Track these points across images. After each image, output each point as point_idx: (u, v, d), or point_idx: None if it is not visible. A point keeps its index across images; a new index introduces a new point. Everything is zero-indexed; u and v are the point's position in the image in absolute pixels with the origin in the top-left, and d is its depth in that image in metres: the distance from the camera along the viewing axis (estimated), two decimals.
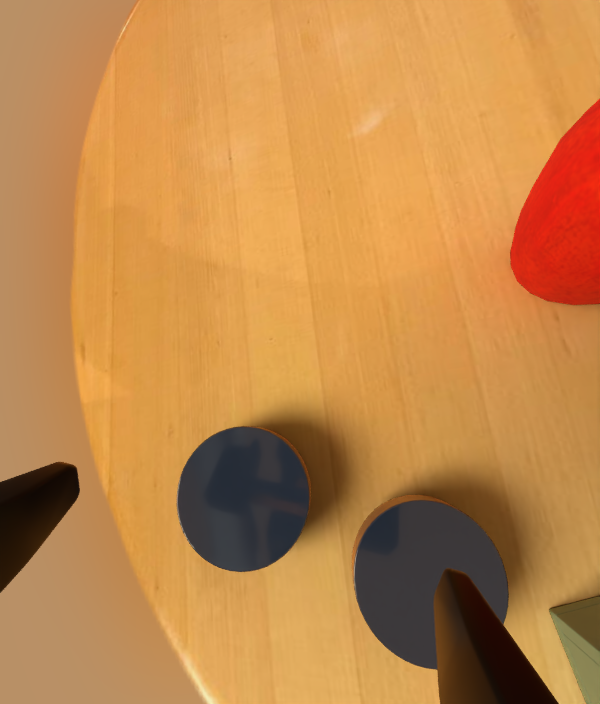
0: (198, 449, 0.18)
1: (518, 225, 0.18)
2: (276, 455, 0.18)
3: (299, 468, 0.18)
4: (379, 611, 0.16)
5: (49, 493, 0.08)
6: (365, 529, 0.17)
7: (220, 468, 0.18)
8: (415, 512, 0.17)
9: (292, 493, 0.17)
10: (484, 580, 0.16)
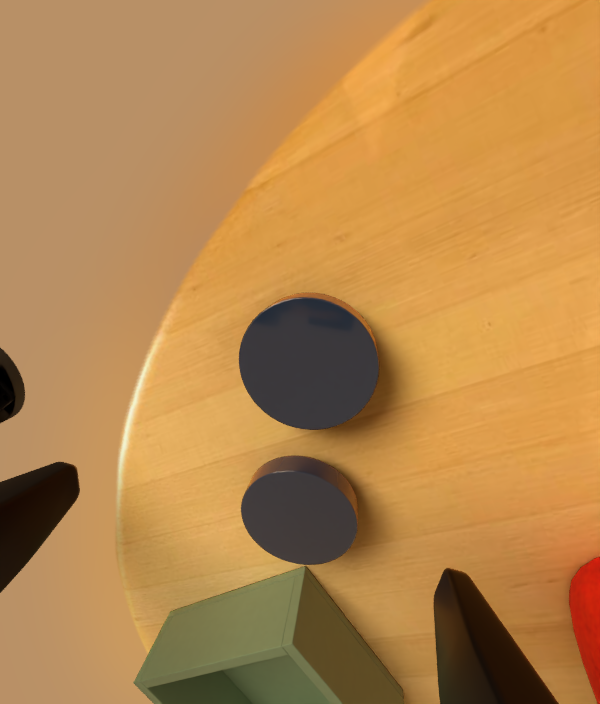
0: (336, 307, 0.16)
1: None
2: (355, 391, 0.17)
3: (350, 415, 0.17)
4: (263, 491, 0.20)
5: (49, 493, 0.08)
6: (316, 474, 0.19)
7: (324, 338, 0.16)
8: (343, 508, 0.19)
9: (325, 413, 0.17)
10: (311, 552, 0.21)
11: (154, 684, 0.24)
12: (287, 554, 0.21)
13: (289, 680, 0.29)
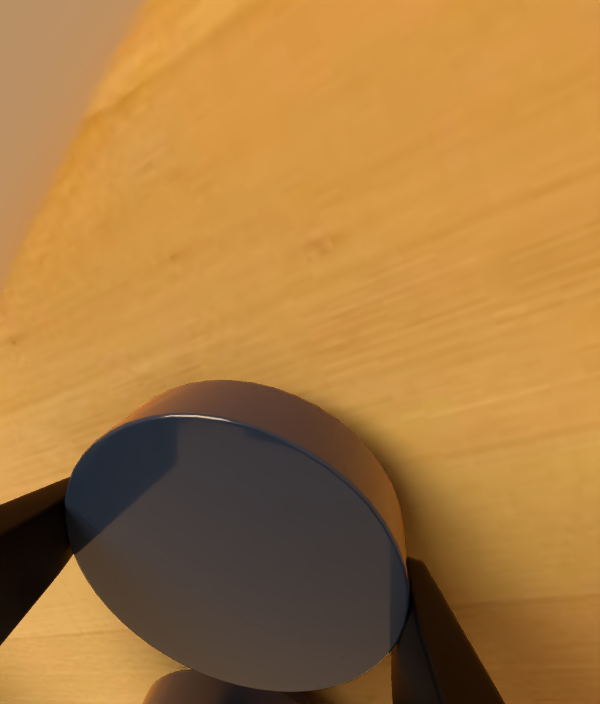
0: (294, 452, 0.05)
1: None
2: (345, 642, 0.07)
3: (329, 680, 0.07)
4: None
5: None
6: None
7: (264, 521, 0.06)
8: None
9: (270, 667, 0.07)
10: None
11: None
12: None
13: None
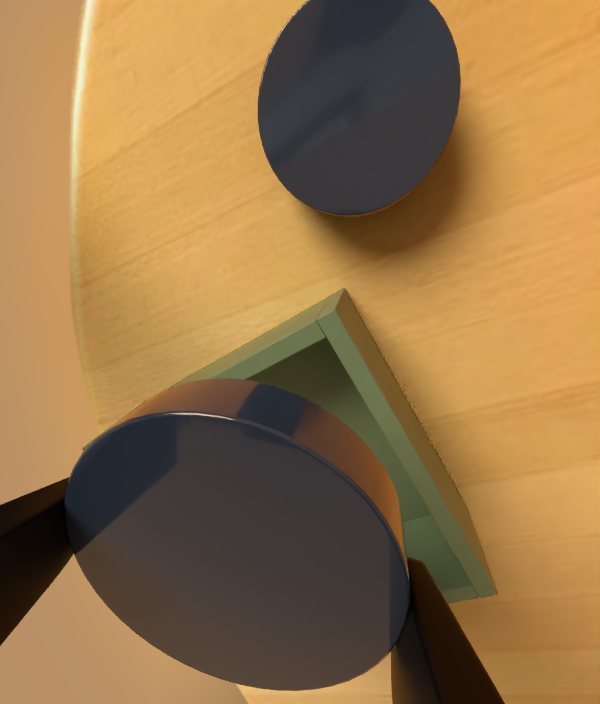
0: (295, 450, 0.05)
1: None
2: (345, 641, 0.07)
3: (330, 679, 0.07)
4: (298, 46, 0.12)
5: None
6: None
7: (264, 519, 0.06)
8: (440, 57, 0.11)
9: (271, 665, 0.07)
10: (370, 181, 0.13)
11: None
12: (328, 195, 0.13)
13: None
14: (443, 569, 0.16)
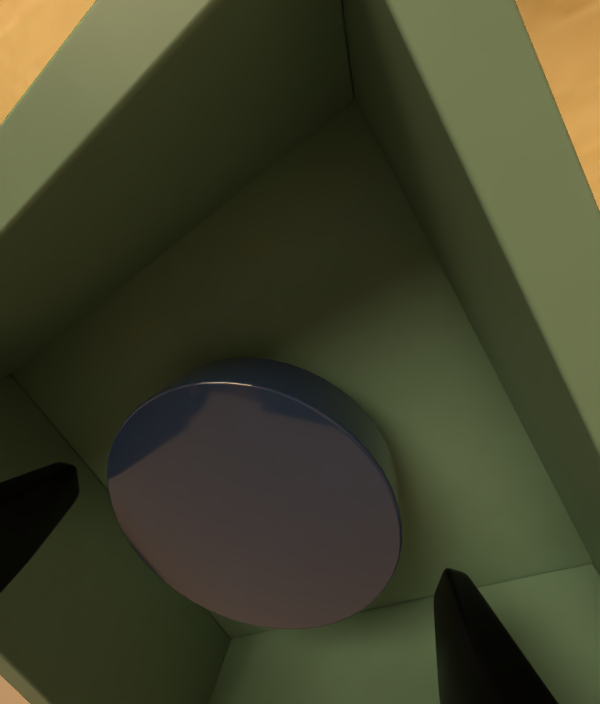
0: (307, 411, 0.06)
1: None
2: (348, 579, 0.08)
3: (334, 616, 0.08)
4: None
5: (49, 493, 0.08)
6: None
7: (280, 472, 0.07)
8: None
9: (283, 606, 0.08)
10: None
11: None
12: None
13: None
14: None
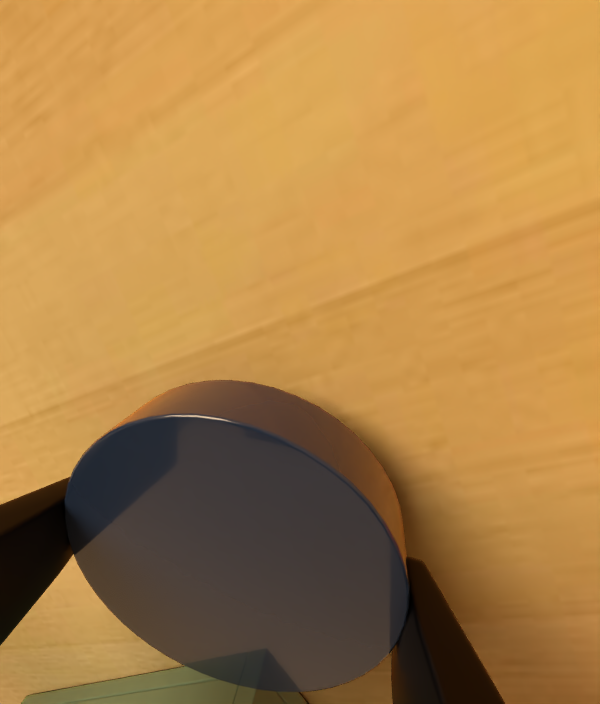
0: None
1: None
2: None
3: None
4: (114, 483, 0.06)
5: None
6: (278, 428, 0.05)
7: None
8: (367, 552, 0.06)
9: None
10: (265, 661, 0.07)
11: None
12: (200, 658, 0.08)
13: None
14: None
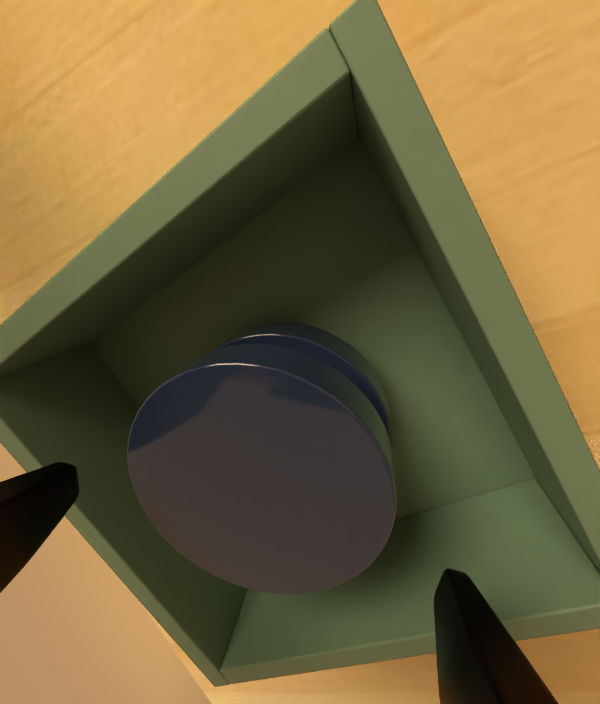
0: (327, 353, 0.10)
1: None
2: None
3: None
4: (170, 420, 0.08)
5: (49, 493, 0.08)
6: (298, 372, 0.07)
7: None
8: (364, 466, 0.08)
9: None
10: (284, 567, 0.09)
11: None
12: (231, 569, 0.10)
13: None
14: (549, 573, 0.09)
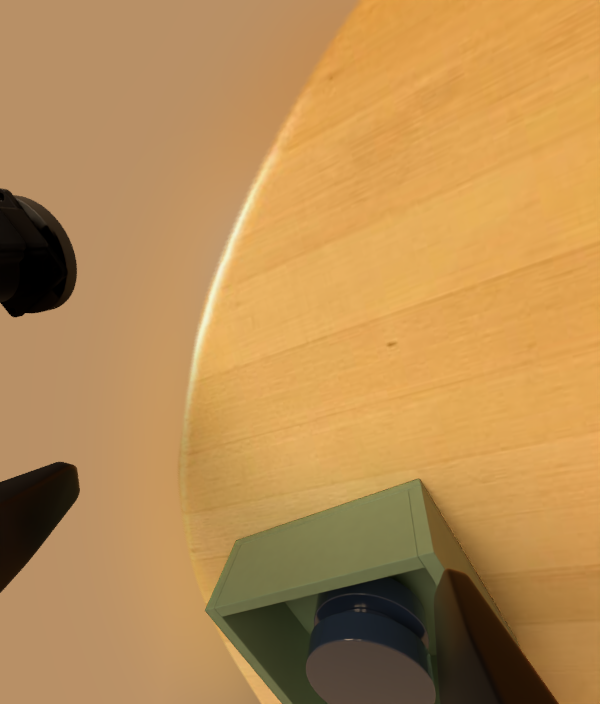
0: (399, 606, 0.20)
1: None
2: None
3: None
4: (333, 653, 0.18)
5: (49, 493, 0.08)
6: (395, 646, 0.18)
7: None
8: (422, 683, 0.18)
9: None
10: None
11: (232, 611, 0.20)
12: None
13: None
14: None
